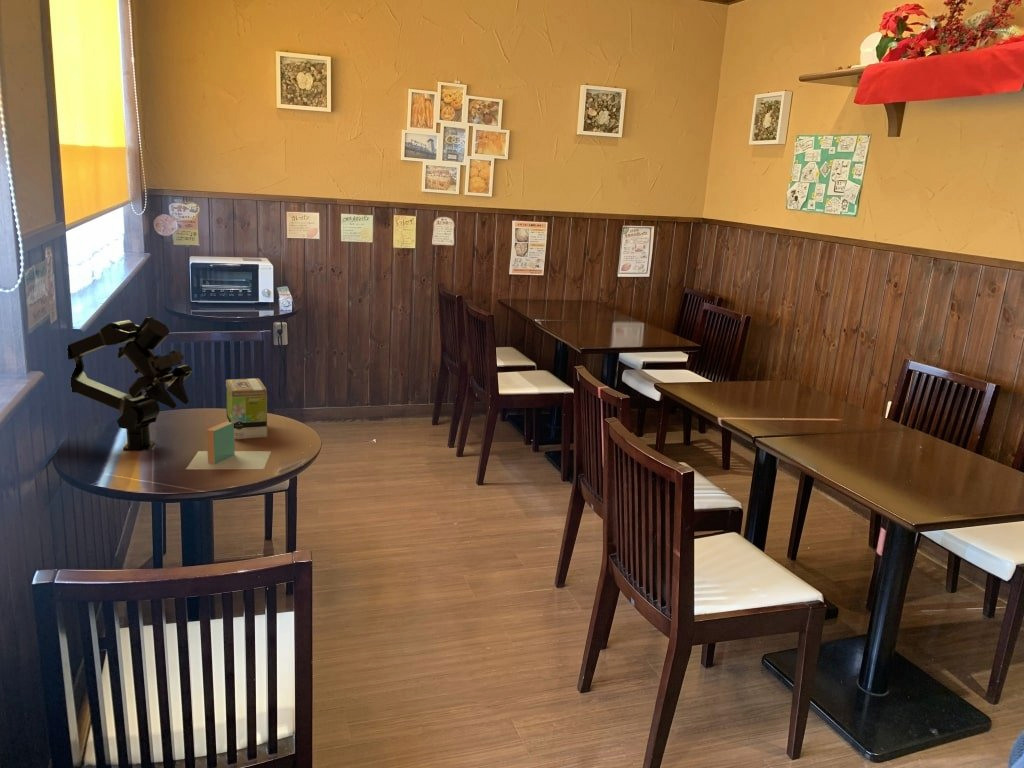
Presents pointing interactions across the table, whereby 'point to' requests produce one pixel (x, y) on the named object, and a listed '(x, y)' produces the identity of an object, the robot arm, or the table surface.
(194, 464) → the mat
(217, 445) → the tile
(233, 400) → the tea box
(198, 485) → the table surface
